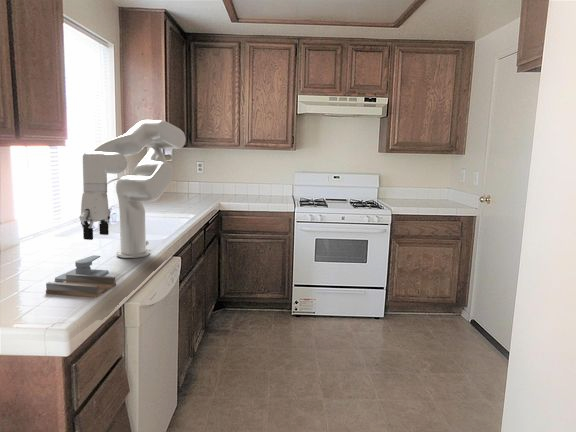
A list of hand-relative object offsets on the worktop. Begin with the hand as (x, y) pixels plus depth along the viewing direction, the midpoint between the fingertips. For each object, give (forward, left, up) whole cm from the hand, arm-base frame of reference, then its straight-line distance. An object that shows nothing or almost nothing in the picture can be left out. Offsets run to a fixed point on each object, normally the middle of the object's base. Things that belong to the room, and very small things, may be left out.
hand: (96, 236), depth 152 cm
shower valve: (0, 0, -9) cm, 9 cm away
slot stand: (+21, +8, -12) cm, 25 cm away
